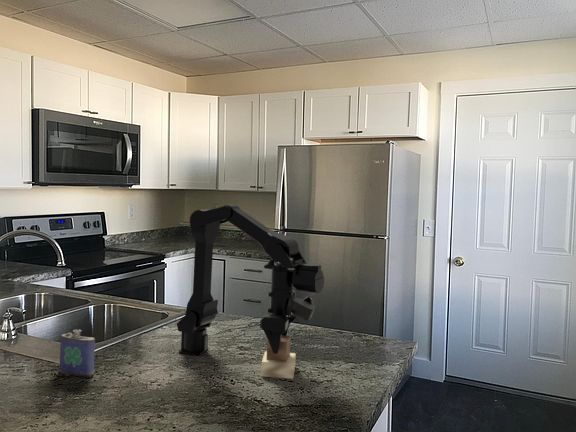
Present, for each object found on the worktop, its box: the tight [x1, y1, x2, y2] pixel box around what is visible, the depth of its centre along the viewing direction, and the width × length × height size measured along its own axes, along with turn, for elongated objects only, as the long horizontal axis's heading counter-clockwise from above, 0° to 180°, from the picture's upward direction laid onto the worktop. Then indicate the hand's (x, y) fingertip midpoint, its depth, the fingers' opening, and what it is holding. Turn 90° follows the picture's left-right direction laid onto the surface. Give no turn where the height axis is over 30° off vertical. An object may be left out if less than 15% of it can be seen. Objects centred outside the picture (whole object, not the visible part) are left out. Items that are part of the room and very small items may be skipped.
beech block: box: [260, 350, 297, 380], centre depth 125 cm, size 8×8×4 cm
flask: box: [58, 329, 96, 378], centre depth 117 cm, size 9×3×11 cm, turn 74°
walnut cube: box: [266, 335, 292, 362], centre depth 124 cm, size 5×5×5 cm
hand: (279, 348), depth 124 cm, fingers open, 8 cm apart
